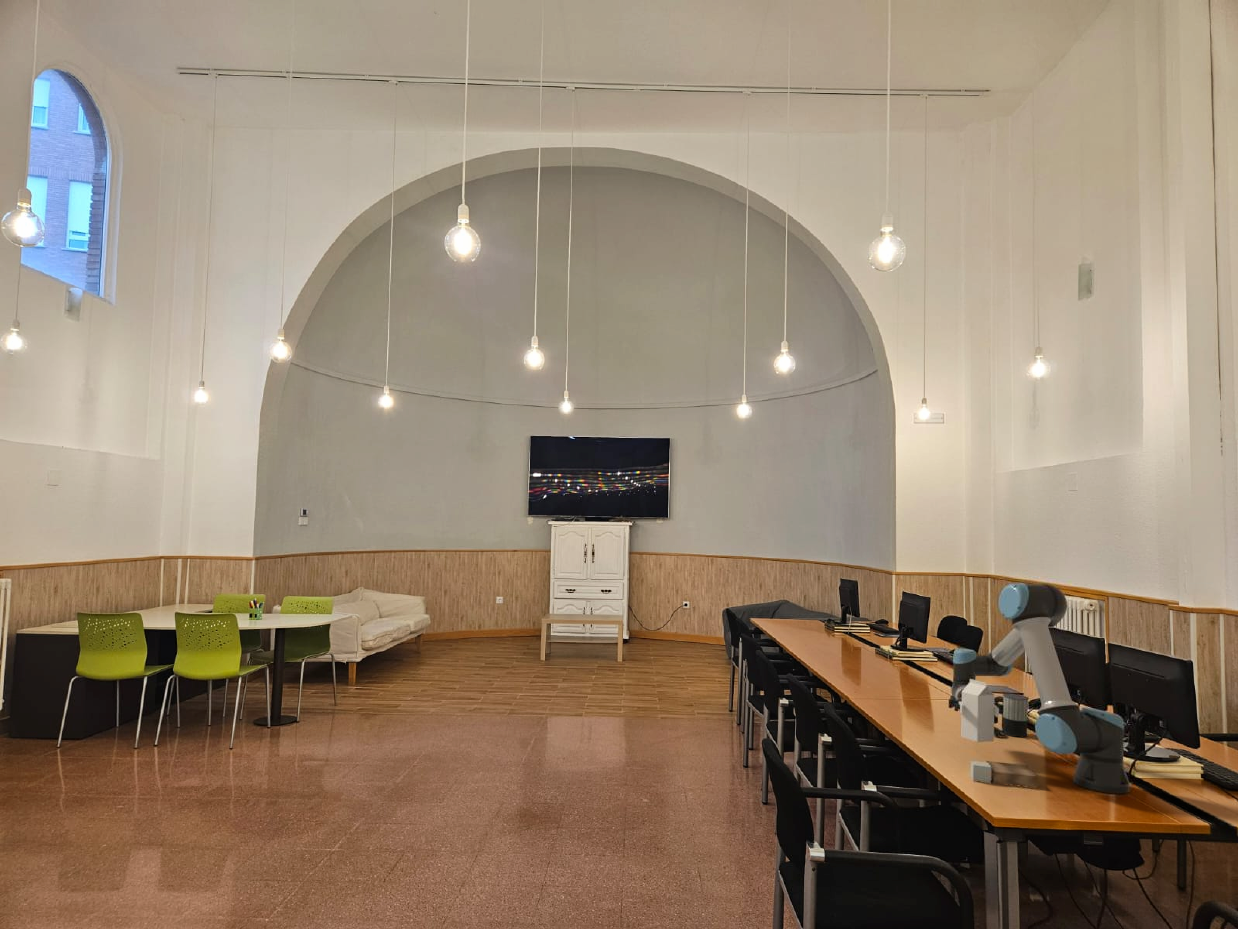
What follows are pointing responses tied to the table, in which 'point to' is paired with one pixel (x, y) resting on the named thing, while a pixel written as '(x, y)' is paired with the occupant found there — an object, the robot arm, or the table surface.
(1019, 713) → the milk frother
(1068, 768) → the table surface
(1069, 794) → the table surface
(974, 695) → the milk carton
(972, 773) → the grey cube
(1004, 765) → the walnut block
